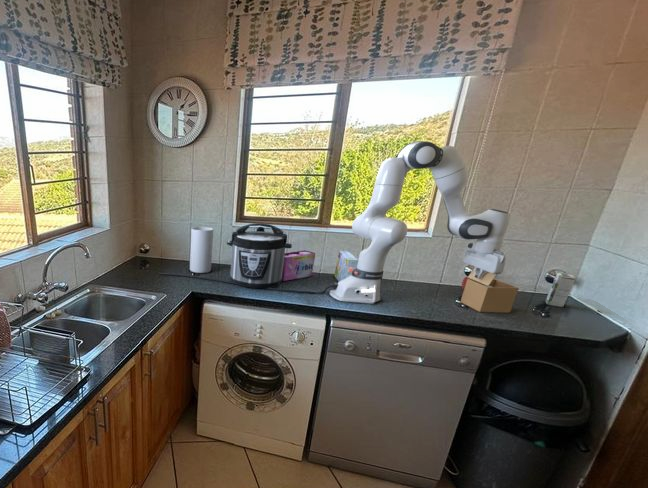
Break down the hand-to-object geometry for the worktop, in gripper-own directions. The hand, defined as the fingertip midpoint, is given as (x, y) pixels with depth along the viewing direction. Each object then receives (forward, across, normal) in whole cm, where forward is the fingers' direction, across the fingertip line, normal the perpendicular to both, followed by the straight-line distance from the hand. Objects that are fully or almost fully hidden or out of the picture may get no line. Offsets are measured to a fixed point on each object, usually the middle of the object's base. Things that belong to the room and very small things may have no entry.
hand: (477, 278), depth 180 cm
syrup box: (+14, +6, -43) cm, 46 cm away
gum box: (+14, +43, +68) cm, 82 cm away
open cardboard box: (+14, 0, -7) cm, 16 cm away
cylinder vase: (+14, +52, +120) cm, 132 cm away
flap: (-1, 0, -2) cm, 2 cm away
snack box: (+14, +35, +43) cm, 57 cm away
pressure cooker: (+14, +30, +92) cm, 98 cm away
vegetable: (+14, +20, -15) cm, 29 cm away
